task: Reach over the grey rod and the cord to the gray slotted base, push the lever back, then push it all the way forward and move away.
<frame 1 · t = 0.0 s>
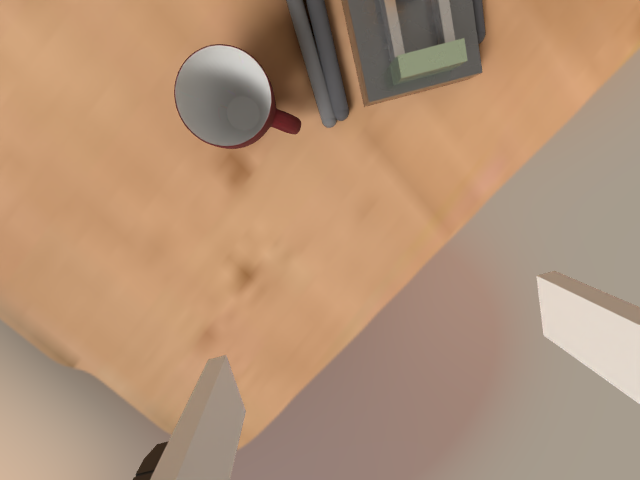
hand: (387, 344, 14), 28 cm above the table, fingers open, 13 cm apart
cord b: (296, 10, 37), on the table
mug: (255, 116, 39), on the table
grey rod: (315, 5, 37), on the table
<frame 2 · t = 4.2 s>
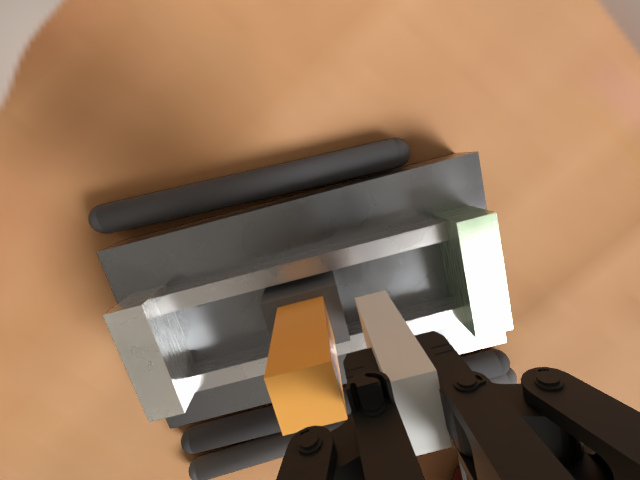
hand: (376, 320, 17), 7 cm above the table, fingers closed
cord b: (349, 415, 26), on the table
gray slotted base: (312, 282, 24), on the table
grey rod: (342, 392, 26), on the table
cord c: (252, 185, 22), on the table
lever: (306, 340, 16), point 8 cm above the table, slide at 4.5 cm, touching gripper
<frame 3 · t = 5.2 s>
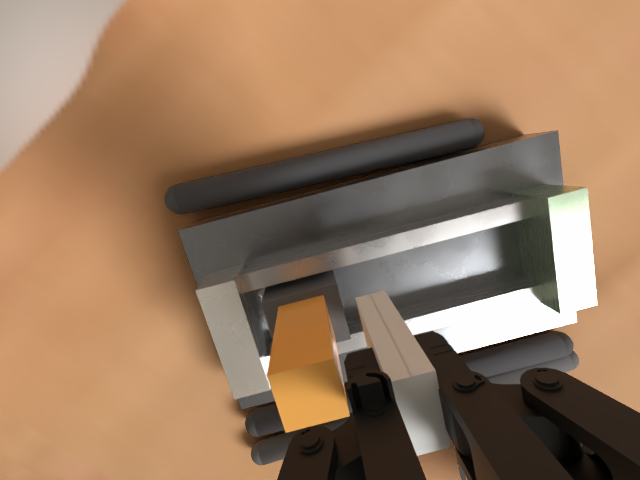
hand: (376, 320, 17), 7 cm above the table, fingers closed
cord b: (409, 398, 26), on the table
gray slotted base: (378, 264, 24), on the table
grey rod: (403, 375, 26), on the table
cord c: (323, 166, 22), on the table
lever: (307, 338, 16), point 8 cm above the table, slide at -0.1 cm, touching gripper
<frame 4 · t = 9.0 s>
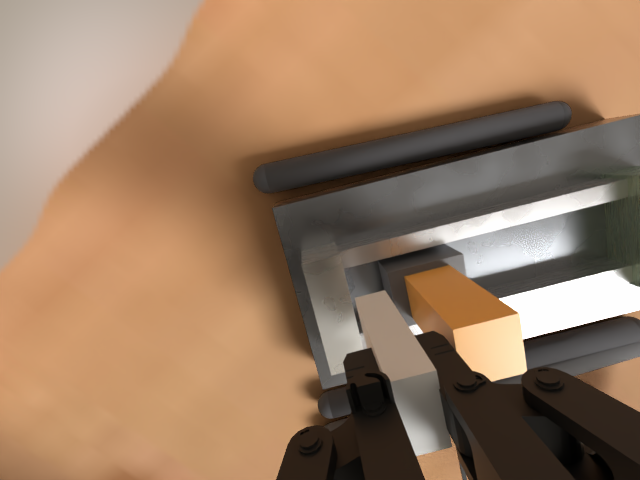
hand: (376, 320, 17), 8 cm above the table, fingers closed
cord b: (477, 383, 26), on the table
gray slotted base: (455, 248, 24), on the table
grey rod: (473, 360, 26), on the table
cord c: (406, 148, 22), on the table
lever: (444, 305, 17), point 8 cm above the table, slide at 1.2 cm, touching gripper
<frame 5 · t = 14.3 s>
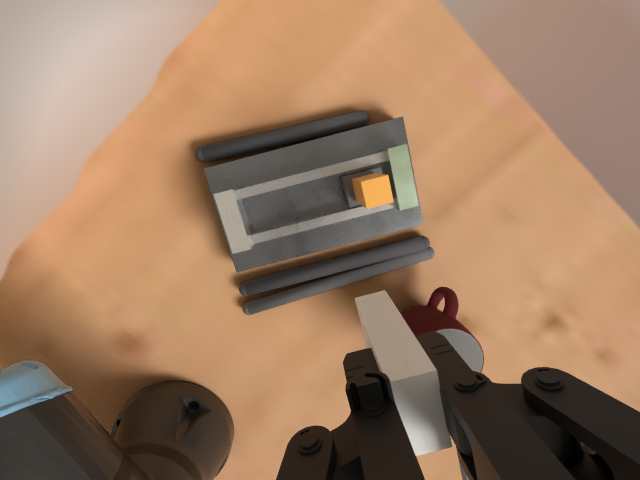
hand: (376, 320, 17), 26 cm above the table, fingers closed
cord b: (337, 278, 44), on the table
gray slotted base: (315, 194, 42), on the table
mug: (417, 311, 46), on the table
grey rod: (333, 263, 43), on the table
cord c: (282, 137, 40), on the table
lever: (368, 188, 34), point 8 cm above the table, slide at 10.0 cm
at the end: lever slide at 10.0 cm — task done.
